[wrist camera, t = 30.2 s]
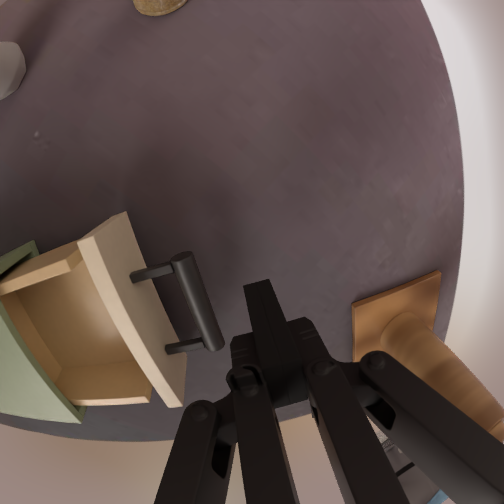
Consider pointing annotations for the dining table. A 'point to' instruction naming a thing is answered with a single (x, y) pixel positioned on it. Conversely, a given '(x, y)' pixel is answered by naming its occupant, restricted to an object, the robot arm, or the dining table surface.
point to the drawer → (107, 318)
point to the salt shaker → (10, 68)
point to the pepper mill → (442, 371)
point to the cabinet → (28, 366)
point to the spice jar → (157, 6)
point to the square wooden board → (393, 311)
